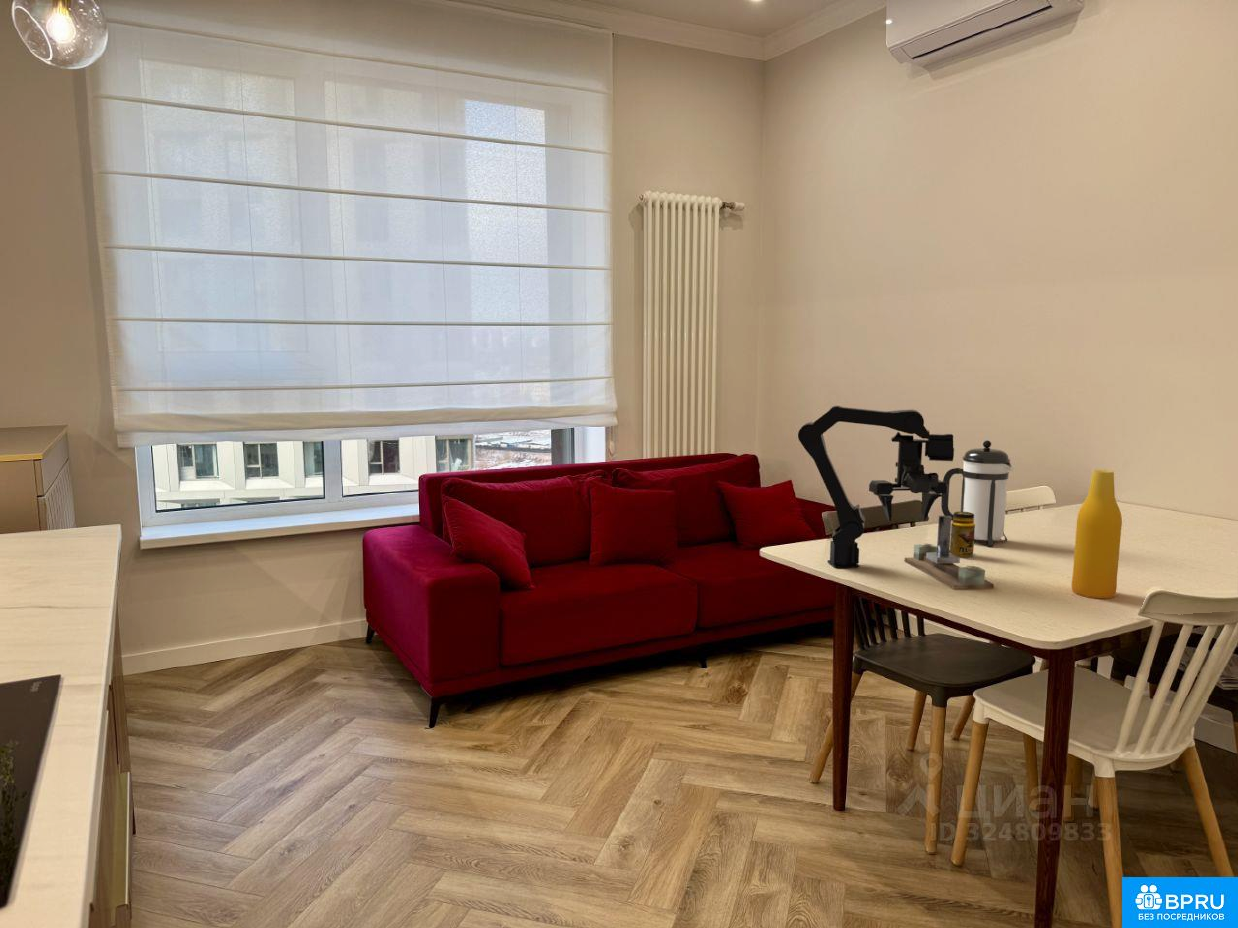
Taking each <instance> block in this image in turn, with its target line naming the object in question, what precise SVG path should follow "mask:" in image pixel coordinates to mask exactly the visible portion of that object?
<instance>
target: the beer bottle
mask: <svg viewBox="0 0 1238 928" xmlns="http://www.w3.org/2000/svg"><path fill="white" fill-rule="evenodd" d="M1089 484H1090V485H1089V489H1088V493H1087V497H1086V498H1085V500H1084V501H1083V503H1082V505H1081V506H1080V509H1079V510H1078V513H1077V517H1076V528H1075V529H1076V530H1075V541H1074V555H1073V567H1072V576H1071V577H1072V578H1071V590H1072V592H1073V593H1074V594H1076V595H1077V596H1082V597H1086V598H1090V599H1103V600H1104V599H1105V600H1106V599H1112V598H1114V597H1115V596H1116V593H1117V588H1118V587H1117V586H1118V583H1117V582H1118V573H1119V558H1120V548H1121V547H1120V546H1121V536H1122V535H1121V534H1122V524H1123V516H1122V512H1121V509H1120V507H1119V505H1118V502H1117V500H1116V493H1115V492H1116V491H1115V473H1114V471H1112V470H1106V469H1093V470H1092V474H1091V480H1090V483H1089Z"/></svg>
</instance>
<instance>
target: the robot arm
mask: <svg viewBox="0 0 1238 928" xmlns="http://www.w3.org/2000/svg"><path fill="white" fill-rule="evenodd" d="M839 422H842V423H850V424H860V425H868V426H877V427H886V428H889V429H892V430H895V431H897V432H896V434H895V435H893V437H891V440H890V441H891V442H893V443H898V449H897V451H898V452H897V461H896V462H895V467H897V470H896V471H897V472H896V474H897V475H896V477H895V478H894V483H892V482H890V481H888V480H884V479H883V480H881V479H880V480H878V479H877V480H876V479H873V480H871V481H870V482H869V484H868V485H869V486H868V491H869V492H871V493H873V495H875V496H877V497H878V499H879V501H880V503H881V505H882V508H883V510H884V511H883V512H884V513H885V516H886V519H887V520H888V522H890V521H892V515H893V514H892V513H893V510H892V508H893V507H892V506H893V505H892V501H893V498H894V497H895V496H894V494H891V493H893V492H896V491H897V492H898V491H899V492H901V491H904V492H905V491H909V492H911V493H912V494H919V493H921V520H922V521H926V519H927V517H928V515H929V513H930V511H931V508H932V506H933V504H934V503H935V501H936V500H938V498H942V494H944V493H948V485H947V483H946V482H943V480H940V479H939V474H938V473H937V472H928V473H926V472H925V467H924V464H923V463H922V460H923V456H922V455H923V443H924V457H927V458H928V461H932V462H933V461H935V462H937V461H938V462H953V461H954V458H955V457H954V455H955V447H954V435H953V434H952V433H946V434H945V433H944V434H935V433H934V434H933V433H930V430H929V429H927V427H925V419H924V416H923V415H922V413H921V412H919V411H918V410H916V409H899V410H891V411H890V410H887V411H885V410H873V409H866V408H864V409H863V408H856V407H846V406H842V405H841V406H840V405H833V406H831V408H829V410H828V411H827V412H825V413H824V414H823V415H821V416H820V417H819V418H817V419H816V420H815V421H813V422H812V421H811V422H806V423H805V424H803V425H802V426H801V428H799V430H798V433H797V438H798V441H799V442H800V444H801V445H802V447H803V448H804V449H805V452H807V453H808V455H809V456H810V458H811V459H812V460H813V462H814V464H815V466H816V468H817V471H818V472H819V474H820V477H821V480H822V481H823V483H824V485H825V488H826V490H827V492H828V494H829V496H830V498H831V500H832V503H833V504H834V507H835V511H836V515H837V521H838V524H839V525H838V527H836V528H835V529H834V530H833V532H832V536H831V539H832V540H830V545H829V546H830V550H829V559H828V560H826V561H827V563H828V564H829V565H831V566H832V567H834V568H836V569H840V568H841V569H842V568H843V569H847V568H849V569H850V568H852V569H853V568H860V565H859V562H860V561H859V560H860V558H859V557H860V548H859V547H858V545H859V543H858V542H857V541H856V540H857V539H859V538H860V537H861V536H862V535H863V534H864V532H865V522H866V517H865V515H863V513H862V511H861V507H860V504H856V505H855V506H854V504H853V503H852V502H851V501H850V500H849V497H848V495H847V493H846V491H845V488H844V487H843V484H842V482H841V479H840V478H839V476H838V474H837V471H836V469H835V467H834V465H833V463H832V460H831V458H830V456H829V454H828V450H827V446H826V441H825V436H824V433H826V432H827V431H829V429H831V428H832V427H834V426H835V425H836V424H837V423H839ZM900 432H902V433H905V434H901V433H900ZM914 435H916V436H917V437H919V438H921V439H918V438H914Z"/></svg>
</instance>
